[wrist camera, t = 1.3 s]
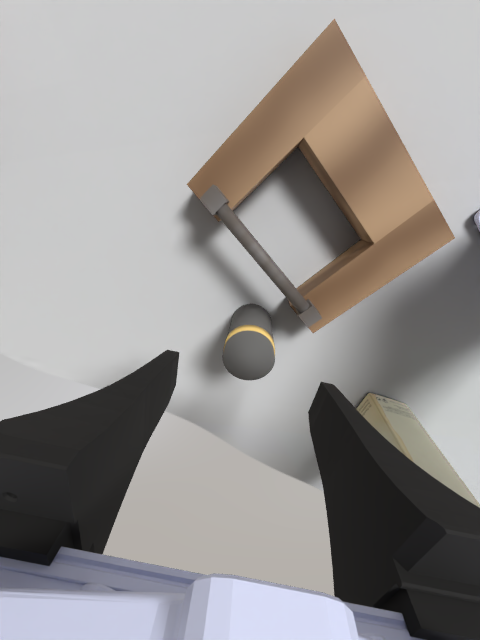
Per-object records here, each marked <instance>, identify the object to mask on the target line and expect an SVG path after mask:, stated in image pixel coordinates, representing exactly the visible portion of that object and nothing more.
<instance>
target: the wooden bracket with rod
mask: <svg viewBox="0 0 480 640" xmlns="http://www.w3.org/2000/svg"><path fill="white" fill-rule="evenodd" d="M297 147H298V148H299V149H300V150H301V152H302V153H303V155H304V156H305V158H306V159H307V161H308V162H309V164H310V165H311V167H312V168H313V170H314V171H315V173H316V174H317V176H318V177H319V179H320V180H321V181H322V183H323V184H324V186H325V187H326V189H327V190H328V192H329V193H330V195H331V196H332V198H333V199H334V201H335V202H336V204H337V205H338V207H339V208H340V210H341V211H342V212H343V214H344V215H345V217H346V218H347V220H348V221H349V223H350V224H351V226H352V227H353V229H354V230H355V232H356V233H357V235H358V236H359V238H360V239H361V240H360V241H358V242H357V243H356V244H354V245H353V246H352V247H350V248H349V249H348V250H346V251H345V252H344V253H343V254H341V255H340V256H339V257H337V258H336V259H335V260H333V261H332V262H331V263H329V264H328V265H327V266H325V267H324V268H323V269H321V270H320V271H319V272H318V273H316V274H315V275H314V276H312V277H311V278H310V279H308V280H307V281H306V282H304V283H303V284H302V285H300V286H299V287H298V288H295V287H294V285H293V284H292V283H291V282H290V281H289V279H288V278H287V277H286V276H285V274H284V273H283V272H282V271H281V270H280V268H279V267H278V266H277V265H276V263H275V262H274V261H273V260H272V259H271V257H270V256H269V255H268V254H267V252H266V251H265V250H264V249H263V248H262V246H261V245H260V244H259V243H258V241H257V240H256V239H255V238H254V237H253V235H252V234H251V233H250V232H249V231H248V229H247V228H246V227H245V226H244V224H243V223H242V222H241V221H240V220H239V218H238V217H237V216H236V215H235V213H234V212H233V210H234V209H235V208H236V207H237V206H238V205H240V204H241V203H242V202H243V201H244V200H245V199H246V198H247V197H248V196H249V195H250V194H251V193H252V192H253V191H254V190H255V189H256V188H257V187H258V186H259V185H260V184H261V183H262V182H263V181H264V180H265V179H266V178H267V177H268V176H269V175H270V174H271V173H272V172H273V171H274V170H275V169H276V168H277V167H278V166H279V165H280V164H281V163H282V162H283V161H284V160H285V159H286V158H287V157H288V156H289V155H290V154H291V153H292V152H293V151H294V150H295V149H296V148H297ZM187 185H188V186H189V188H190V189H191V190H192V191H193V192H194V193H195V195H196V196H197V197H198V198H199V200H200V201H201V202H202V203H203V205H204V206H205V207H206V208H207V209H208V211H209V212H210V213H211V214H212V215H213V216H214V217H215V218H216V219H217V221H218V222H219V221H222V222H223V223H224V224H225V225H226V226H227V228H228V229H229V230H230V231H231V232H232V234H233V235H234V236H235V237H236V238H237V239H238V241H239V242H240V243H241V244H242V245H243V247H244V248H245V249H246V250H247V251H248V253H249V254H250V255H251V256H252V257H253V258H254V260H255V261H256V262H257V263H258V264H259V266H260V267H261V268H262V269H263V270H264V271H265V273H266V274H267V275H268V276H269V277H270V279H271V280H272V281H273V282H274V283H275V285H276V286H277V287H278V288H279V289H280V290H281V292H282V293H283V294H284V295H285V296H286V298H287V299H288V301H289V304H290V307H291V308H292V309H293V310H294V311H295V313H296V314H297V315H298V317H299V318H300V319H301V320H302V321H303V322H304V324H305V325H306V326H307V327H308V328H309V329H310V330H311V331H312V333H314V332H316V331H317V330H319V329H320V328H322V327H323V326H325V325H326V324H328V323H329V322H331V321H332V320H334V319H335V318H336V317H338V316H339V315H341V314H342V313H344V312H345V311H347V310H348V309H350V308H351V307H353V306H354V305H356V304H357V303H359V302H360V301H362V300H363V299H365V298H366V297H368V296H369V295H371V294H372V293H374V292H375V291H377V290H378V289H380V288H381V287H383V286H384V285H386V284H387V283H389V282H390V281H392V280H393V279H395V278H396V277H398V276H399V275H401V274H402V273H404V272H405V271H407V270H408V269H410V268H411V267H413V266H414V265H416V264H417V263H418V262H420V261H421V260H423V259H424V258H426V257H427V256H429V255H430V254H432V253H433V252H435V251H436V250H438V249H439V248H441V247H442V246H444V245H445V244H447V243H448V242H450V241H451V240H453V239H454V238H455V237H454V235H453V233H452V232H451V230H450V228H449V226H448V224H447V223H446V221H445V219H444V217H443V215H442V213H441V212H440V210H439V208H438V206H437V204H436V203H435V201H434V199H433V197H432V195H431V193H430V192H429V190H428V188H427V186H426V184H425V183H424V181H423V179H422V177H421V175H420V173H419V172H418V170H417V168H416V166H415V164H414V163H413V161H412V159H411V157H410V155H409V153H408V152H407V150H406V148H405V146H404V144H403V143H402V141H401V139H400V137H399V135H398V133H397V132H396V130H395V128H394V126H393V124H392V123H391V121H390V119H389V117H388V115H387V113H386V112H385V110H384V108H383V106H382V104H381V102H380V101H379V99H378V97H377V95H376V93H375V92H374V90H373V88H372V86H371V84H370V82H369V81H368V79H367V77H366V75H365V73H364V72H363V70H362V68H361V66H360V64H359V62H358V61H357V59H356V57H355V55H354V53H353V52H352V50H351V48H350V46H349V44H348V42H347V41H346V39H345V37H344V35H343V33H342V32H341V30H340V28H339V26H338V24H337V22H336V21H335V19H334V20H333V21H332V22H331V23H330V24H329V25H328V27H327V28H326V29H325V30H324V31H323V32H322V33H321V34H320V36H319V37H318V38H317V39H316V40H315V41H314V42H313V43H312V45H311V46H310V47H309V48H308V49H307V50H306V51H305V52H304V53H303V55H302V56H301V57H300V58H299V59H298V60H297V61H296V62H295V64H294V65H293V66H292V67H291V68H290V69H289V70H288V71H287V73H286V74H285V75H284V76H283V77H282V78H281V79H280V80H279V82H278V83H277V84H276V85H275V86H274V87H273V88H272V89H271V91H270V92H269V93H268V94H267V95H266V96H265V97H264V98H263V100H262V101H261V102H260V103H259V104H258V105H257V106H256V107H255V108H254V110H253V111H252V112H251V113H250V114H249V115H248V116H247V117H246V119H245V120H244V121H243V122H242V123H241V124H240V125H239V126H238V128H237V129H236V130H235V131H234V132H233V133H232V134H231V135H230V137H229V138H228V139H227V140H226V141H225V142H224V143H223V144H222V146H221V147H220V148H219V149H218V150H217V151H216V152H215V153H214V155H213V156H212V157H211V158H210V159H209V160H208V161H207V162H206V163H205V165H204V166H203V167H202V168H201V169H200V170H199V171H198V172H197V174H196V175H195V176H194V177H193V178H192V179H191V180H190V181H189V183H188V184H187Z"/></svg>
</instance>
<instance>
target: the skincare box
mask: <svg viewBox="0 0 480 640" xmlns="http://www.w3.org/2000/svg"><path fill="white" fill-rule="evenodd" d="M357 411H358V412H359V413H360V414H361V415H362V416H363V417H364V418H365V419H366V420H367V421H368V422H369V423H370V424H371V425H372V426H373V427H374V428H375V429H376V430H377V431H378V432H379V433H380V434H381V435H382V436H383V437H384V438H386V439H387V440H388V441H389V442H390V443H391V444H392V445H393V446H395V447H396V448H397V449H398V450H399V451H400V452H402V453H403V454H404V455H405V456H406V457H408V458H409V459H410V460H411V461H413V462H414V463H415V464H417V465H418V466H419V467H420V468H422V469H423V470H424V471H426V472H427V473H428V474H430V475H431V476H432V477H434V478H435V479H437V480H438V481H439V482H441V483H442V484H444V485H445V486H447V487H448V488H450V489H451V490H453V491H454V492H456V493H457V494H459V495H460V496H462V497H463V498H465V499H466V500H468V501H470V502H471V503H473V504H474V505H476V506H478V507H479V508H480V504H479V503H478V502H477V500H476V499H475V497H474V496H473V495H472V493H471V492H470V491H469V489H468V488H467V486H466V485H465V484H464V482H463V481H462V480H461V478H460V477H459V476H458V474H457V473H456V472H455V470H454V469H453V467H452V466H451V465H450V463H449V462H448V461H447V459H446V458H445V456H444V455H443V454H442V452H441V451H440V450H439V448H438V447H437V446H436V444H435V443H434V442H433V440H432V439H431V437H430V436H429V435H428V433H427V432H426V431H425V429H424V428H423V426H422V425H421V424H420V422H419V421H418V420H417V418H416V417H415V415H414V414H413V413H412V411H411V410H410V409H409V407H408V406H407V405H406V404H404V403H401V402H398V401H395V400H392V399H389V398H386V397H383V396H379V395H376V394H373V393H368V394H367V396H366V397H365V398H364V399H363V401H362V402H361V403H360V405H359V406H358V407H357Z"/></svg>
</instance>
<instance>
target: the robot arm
mask: <svg viewBox="0 0 480 640" xmlns="http://www.w3.org/2000/svg"><path fill="white" fill-rule="evenodd" d="M474 221H475V223H476V225H477V227H478V229H479V231H480V210H479V211H478V212H477V213H476V215H475V217H474ZM178 360H179V352H175V351H170V350H166V351H165V352H163V353H162V354H160V355H159V356H157V357H156V358H155V359H153V360H152V361H150V362H149V363H147V364H146V365H144V366H143V367H141V368H139V369H138V370H136V371H135V372H133V373H131V374H130V375H128V376H126V377H124V378H123V379H121V380H119V381H117V382H115V383H113V384H111V385H109V386H107V387H105V388H103V389H101V390H98V391H96V392H94V393H91V394H88V395H86V396H83V397H81V398H78V399H76V400H73V401H70V402H67V403H64V404H61V405H58V406H55V407H51V408H48V409H45V410H41V411H38V412H34V413H30V414H26V415H22V416H18V417H14V418H10V419H5V420H2V421H0V640H480V508H479V507H478V506H476V505H474V504H473V503H471V502H470V501H468V500H466V499H465V498H463V497H462V496H460V495H459V494H457V493H456V492H454V491H453V490H451V489H450V488H448V487H447V486H445V485H444V484H442V483H441V482H439V481H438V480H437V479H435V478H434V477H432V476H431V475H430V474H428V473H427V472H426V471H424V470H423V469H422V468H420V467H419V466H418V465H417V464H415V463H414V462H413V461H411V460H410V459H409V458H408V457H406V456H405V455H404V454H403V453H402V452H400V451H399V450H398V449H397V448H396V447H395V446H393V445H392V444H391V443H390V442H389V441H388V440H387V439H386V438H384V437H383V436H382V435H381V434H380V433H379V432H378V431H377V430H376V429H375V428H374V427H373V426H372V425H371V424H370V423H369V422H368V421H367V420H366V419H365V418H364V417H363V416H362V415H361V414H360V413H359V412H358V411H357V409H356V408H355V407H354V406H353V405H352V404H351V403H350V402H349V401H348V400H347V399H346V397H345V396H344V395H343V394H342V393H341V392H340V391H339V390H338V389H337V388H336V387H335V386H334V385H333V384H329V383H324V382H321V383H320V386H319V388H318V391H317V393H316V395H315V398H314V400H313V403H312V405H311V407H310V410H309V412H308V413H309V424H310V432H311V437H312V441H313V446H314V450H315V454H316V458H317V462H318V466H319V470H320V474H321V479H322V484H323V489H324V496H325V503H326V510H327V517H328V527H329V535H330V545H331V556H332V565H333V579H334V595H335V597H334V596H331V595H328V594H326V593H323V592H318V591H313V590H308V589H303V588H297V587H292V586H287V585H282V584H277V583H272V582H267V581H261V580H257V579H251V578H247V577H241V576H236V575H228V574H210V575H204V574H199V573H194V572H189V571H184V570H179V569H174V568H169V567H163V566H158V565H153V564H148V563H143V562H138V561H133V560H127V559H123V558H117V557H112V556H107V555H102V554H103V551H104V548H105V546H106V543H107V541H108V538H109V535H110V533H111V530H112V527H113V525H114V522H115V519H116V517H117V514H118V512H119V509H120V507H121V504H122V501H123V499H124V496H125V494H126V491H127V489H128V486H129V484H130V482H131V479H132V477H133V474H134V472H135V469H136V467H137V465H138V462H139V460H140V458H141V455H142V453H143V451H144V449H145V447H146V445H147V443H148V441H149V439H150V437H151V435H152V433H153V431H154V429H155V427H156V426H157V424H158V422H159V420H160V418H161V417H162V415H163V413H164V411H165V409H166V407H167V405H168V403H169V401H170V399H171V396H172V394H173V391H174V388H175V386H176V378H177V369H178Z"/></svg>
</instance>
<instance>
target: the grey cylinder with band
mask: <svg viewBox="0 0 480 640" xmlns="http://www.w3.org/2000/svg"><path fill="white" fill-rule="evenodd" d="M274 362H275V348H274V341H273V334H272V324H271V317H270V315H269V313H268V312H267V310H265V309H264V308H263V307H261V306H259V305H256V304H247V305H243V306H241V307H240V308H238V309H237V310H236V311H235V313H234V314H233V317H232V321H231V324H230V328H229V332H228V336H227V338H226V341H225V345H224V350H223V363H224V366H225V368H226V369H227V370H228V371H229V373H231V374H232V375H233V376H235V377H237V378H239V379H243V380H256V379H260V378H262V377H264V376H265V375H267V374H268V373H269V372H270V371H271V370H272V368H273V366H274Z"/></svg>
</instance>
